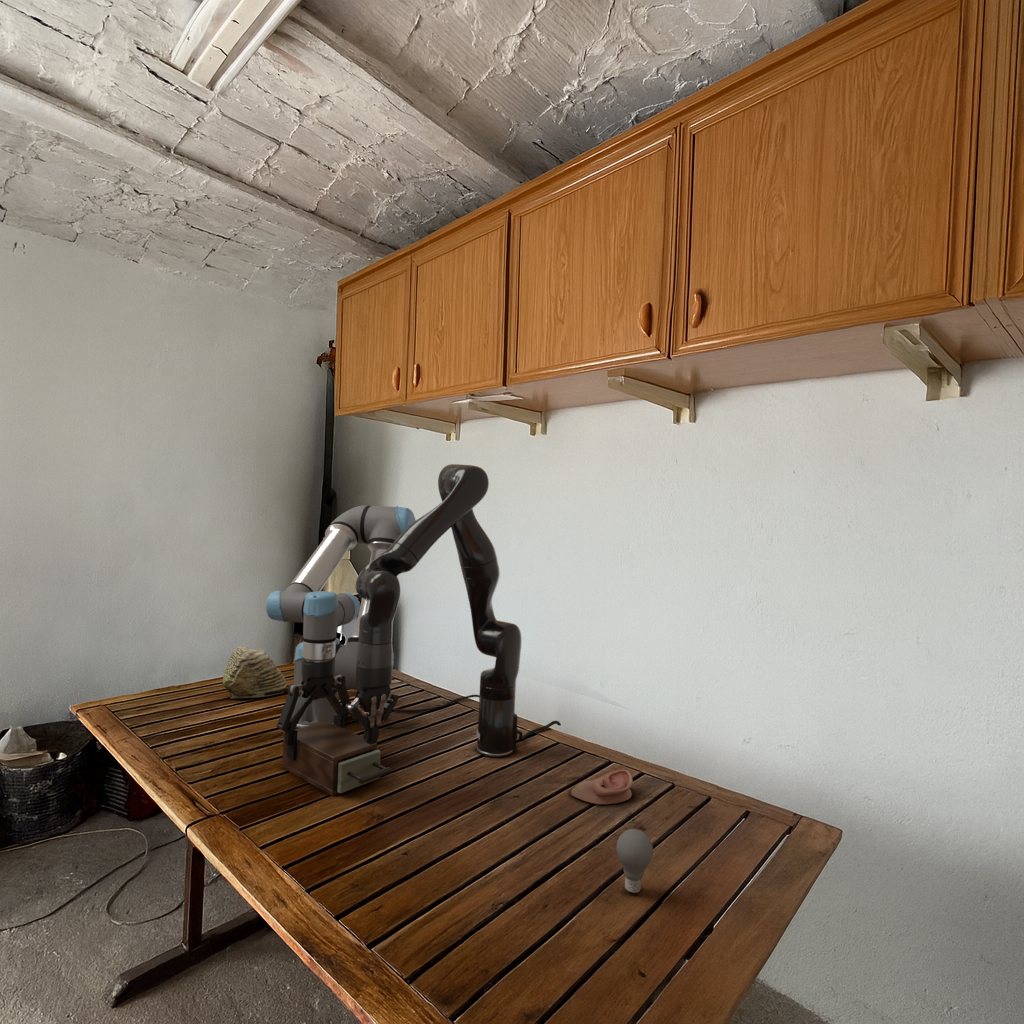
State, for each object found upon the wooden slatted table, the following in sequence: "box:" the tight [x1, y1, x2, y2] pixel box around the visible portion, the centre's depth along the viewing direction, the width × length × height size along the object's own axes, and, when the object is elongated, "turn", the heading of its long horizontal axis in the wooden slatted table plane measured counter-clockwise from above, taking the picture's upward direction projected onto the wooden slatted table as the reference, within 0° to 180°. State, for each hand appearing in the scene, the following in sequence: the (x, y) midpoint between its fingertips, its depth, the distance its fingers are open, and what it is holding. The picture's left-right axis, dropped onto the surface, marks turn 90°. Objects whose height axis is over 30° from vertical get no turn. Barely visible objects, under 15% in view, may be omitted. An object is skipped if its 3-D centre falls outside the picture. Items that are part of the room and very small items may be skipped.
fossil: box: [222, 646, 288, 699], centre depth 198 cm, size 9×18×15 cm, turn 132°
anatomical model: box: [570, 769, 634, 805], centre depth 141 cm, size 13×4×12 cm
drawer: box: [337, 749, 392, 794], centre depth 142 cm, size 24×10×6 cm, turn 50°
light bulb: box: [615, 828, 654, 894], centre depth 106 cm, size 6×6×10 cm
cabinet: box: [281, 721, 378, 797], centre depth 145 cm, size 20×12×8 cm, turn 50°
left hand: (315, 750), depth 149 cm, fingers closed on cabinet, 11 cm apart
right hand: (371, 742), depth 135 cm, fingers closed
